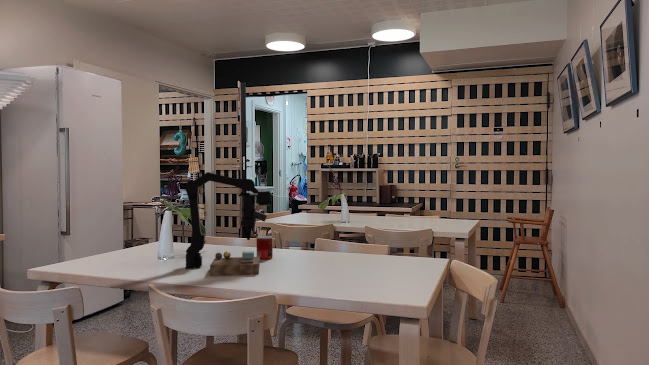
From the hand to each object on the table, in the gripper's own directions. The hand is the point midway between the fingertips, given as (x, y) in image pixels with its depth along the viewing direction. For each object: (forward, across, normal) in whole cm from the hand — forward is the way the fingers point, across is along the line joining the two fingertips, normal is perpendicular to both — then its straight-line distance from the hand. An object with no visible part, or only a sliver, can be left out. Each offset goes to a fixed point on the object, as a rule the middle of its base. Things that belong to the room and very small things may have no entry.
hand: (248, 239), depth 216 cm
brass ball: (+6, -6, +10) cm, 13 cm away
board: (+12, -13, +5) cm, 18 cm away
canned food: (+12, +16, -7) cm, 21 cm away
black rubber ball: (+6, -8, +13) cm, 16 cm away
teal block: (+7, -7, 0) cm, 10 cm away
